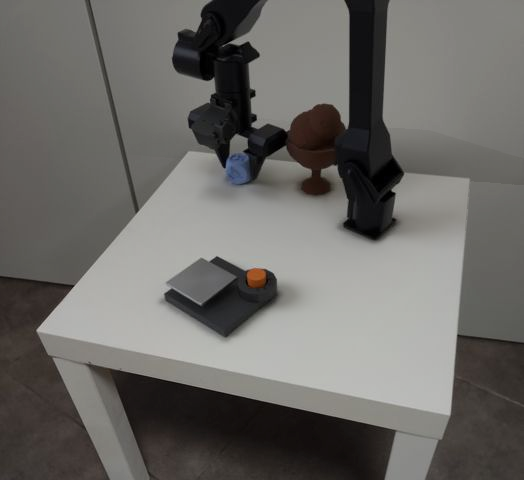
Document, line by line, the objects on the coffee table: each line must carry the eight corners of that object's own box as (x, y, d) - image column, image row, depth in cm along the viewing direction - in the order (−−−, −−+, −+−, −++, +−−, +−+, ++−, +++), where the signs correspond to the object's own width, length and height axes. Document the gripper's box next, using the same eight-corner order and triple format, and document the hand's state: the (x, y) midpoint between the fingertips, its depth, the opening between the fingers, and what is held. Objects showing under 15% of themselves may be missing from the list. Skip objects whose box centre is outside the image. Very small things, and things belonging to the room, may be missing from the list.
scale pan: (237, 278, 77) (237, 276, 76) (201, 306, 73) (201, 304, 73) (201, 259, 80) (201, 257, 80) (165, 284, 77) (165, 282, 76)
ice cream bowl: (345, 171, 101) (351, 88, 90) (345, 205, 93) (352, 118, 82) (288, 170, 102) (287, 88, 91) (284, 203, 94) (282, 118, 83)
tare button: (269, 281, 77) (269, 273, 75) (257, 291, 75) (257, 282, 74) (256, 274, 78) (255, 265, 77) (244, 283, 77) (243, 275, 75)
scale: (284, 294, 79) (284, 278, 76) (229, 340, 73) (227, 324, 71) (221, 260, 85) (219, 244, 82) (165, 300, 79) (161, 285, 77)
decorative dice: (247, 185, 99) (246, 164, 96) (226, 183, 100) (224, 163, 97) (253, 173, 102) (251, 153, 99) (232, 172, 102) (230, 152, 99)
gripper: (157, 89, 89) (173, 176, 100) (241, 119, 80) (248, 210, 92) (205, 67, 94) (215, 152, 106) (289, 93, 86) (289, 182, 97)
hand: (239, 173), depth 100 cm, fingers open, 7 cm apart
